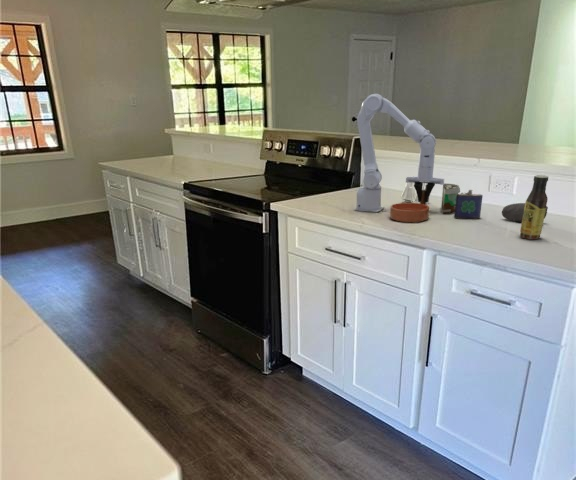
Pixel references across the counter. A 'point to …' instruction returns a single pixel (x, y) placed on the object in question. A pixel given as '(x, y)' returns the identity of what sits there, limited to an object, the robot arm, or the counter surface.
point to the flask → (468, 205)
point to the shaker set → (411, 193)
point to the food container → (449, 198)
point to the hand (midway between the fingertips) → (423, 201)
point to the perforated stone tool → (515, 212)
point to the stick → (423, 197)
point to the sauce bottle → (535, 209)
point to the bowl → (409, 212)
